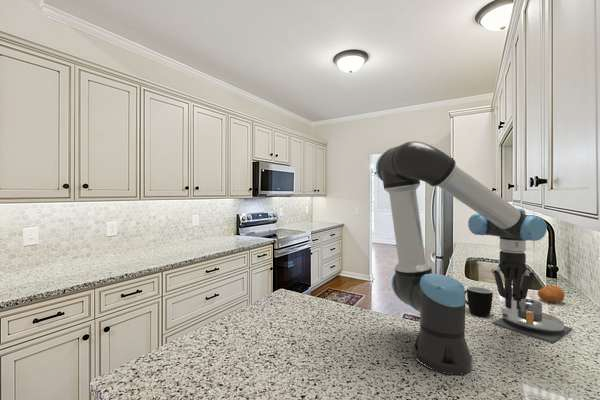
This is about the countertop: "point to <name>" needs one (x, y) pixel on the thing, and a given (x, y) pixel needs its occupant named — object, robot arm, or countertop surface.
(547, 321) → the turntable
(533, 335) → the turntable base
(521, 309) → the cover
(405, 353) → the countertop surface
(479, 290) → the mug
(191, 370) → the countertop surface
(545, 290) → the potato
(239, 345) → the countertop surface
